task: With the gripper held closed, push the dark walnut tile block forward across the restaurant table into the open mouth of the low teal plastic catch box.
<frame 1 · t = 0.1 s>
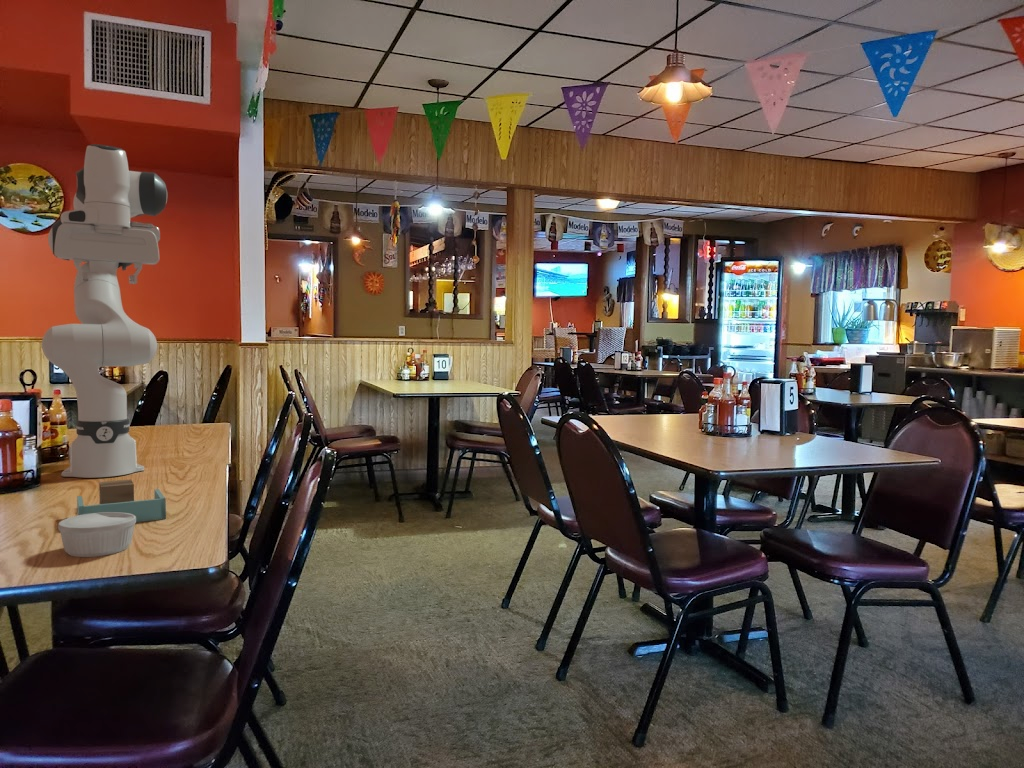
hand: (108, 282, 157), 48 cm above the table, fingers open, 8 cm apart
catch box: (121, 517, 140), on the table
walnut tile block: (116, 506, 150), on the table
ramekin: (98, 551, 119), on the table
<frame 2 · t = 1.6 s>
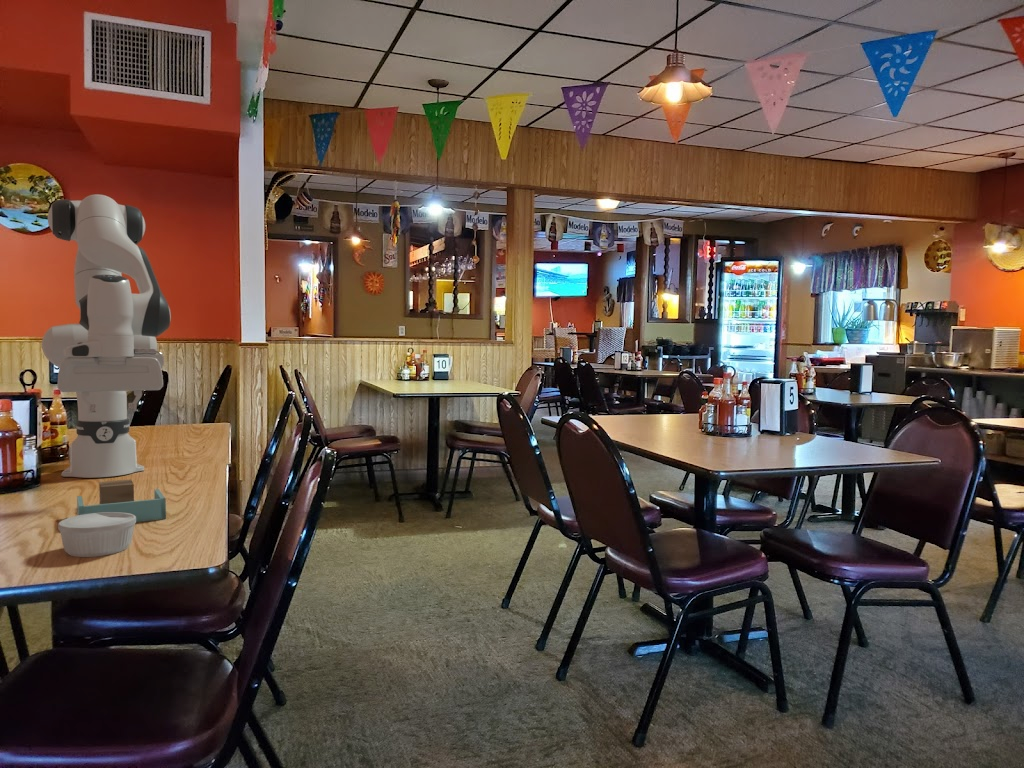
hand: (112, 411, 156), 19 cm above the table, fingers open, 6 cm apart
nothing on the table moved.
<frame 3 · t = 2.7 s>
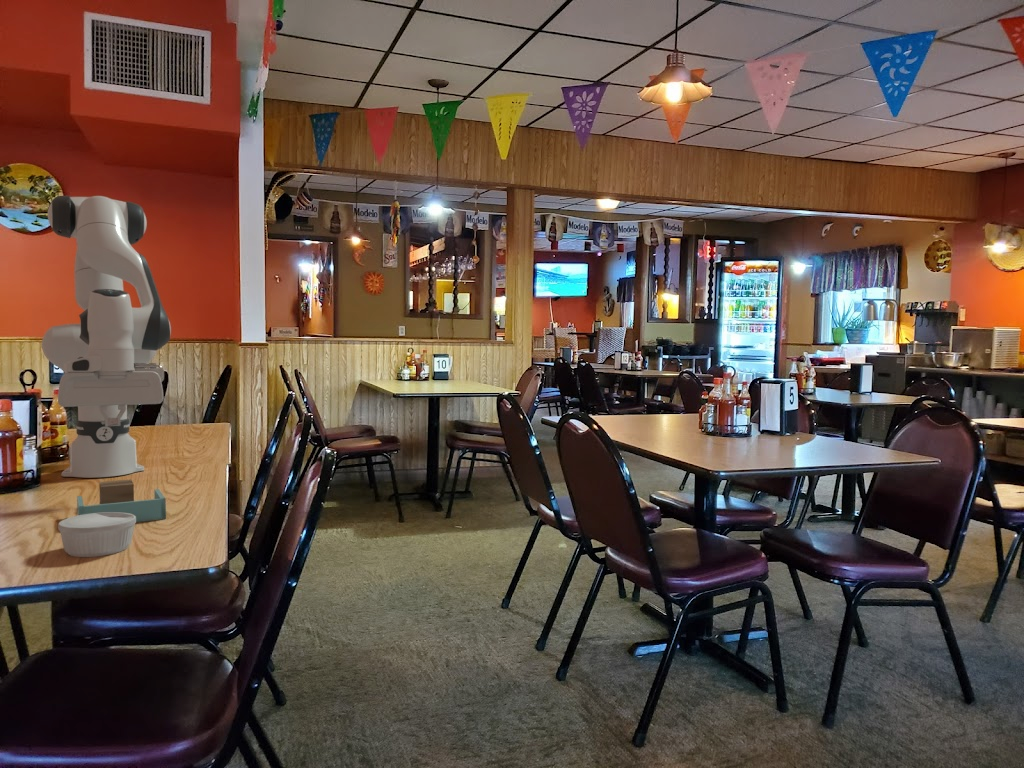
hand: (112, 426, 156), 16 cm above the table, fingers closed
nothing on the table moved.
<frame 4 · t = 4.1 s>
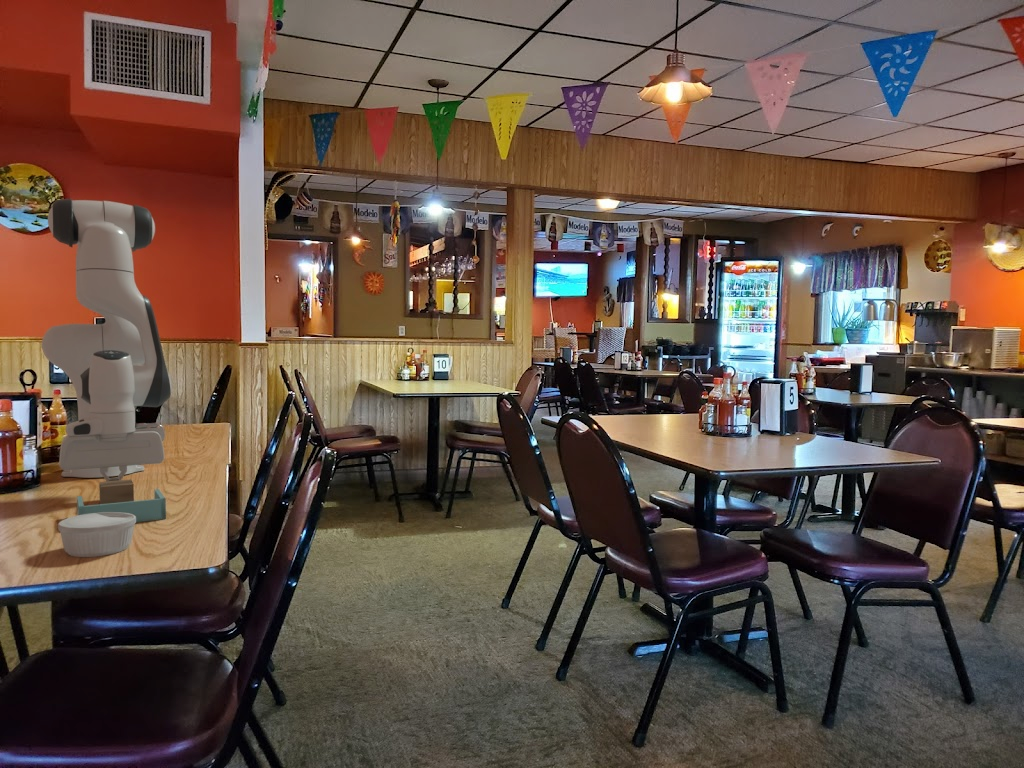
hand: (113, 486, 157), 3 cm above the table, fingers closed
nothing on the table moved.
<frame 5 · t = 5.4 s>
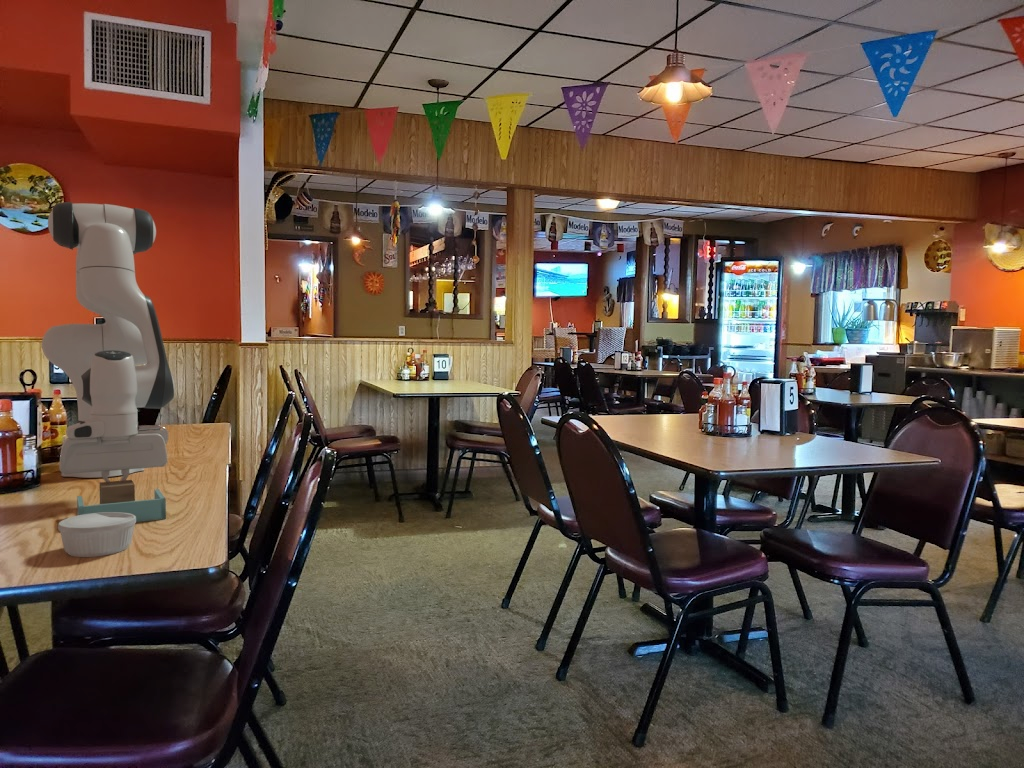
hand: (115, 490, 152), 3 cm above the table, fingers closed
walnut tile block: (117, 507, 149), on the table, touching gripper
everything else where it was.
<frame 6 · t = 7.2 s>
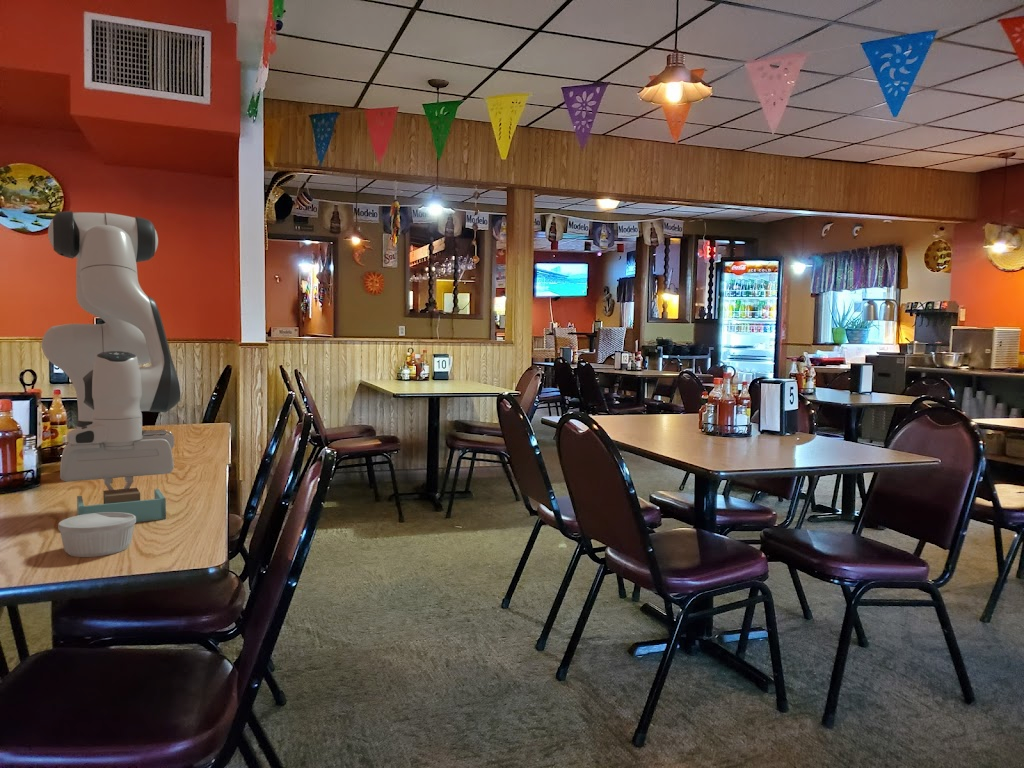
hand: (119, 499, 145), 3 cm above the table, fingers closed, pressing on walnut tile block
walnut tile block: (122, 516, 142), on the table, touching gripper
everything else where it was.
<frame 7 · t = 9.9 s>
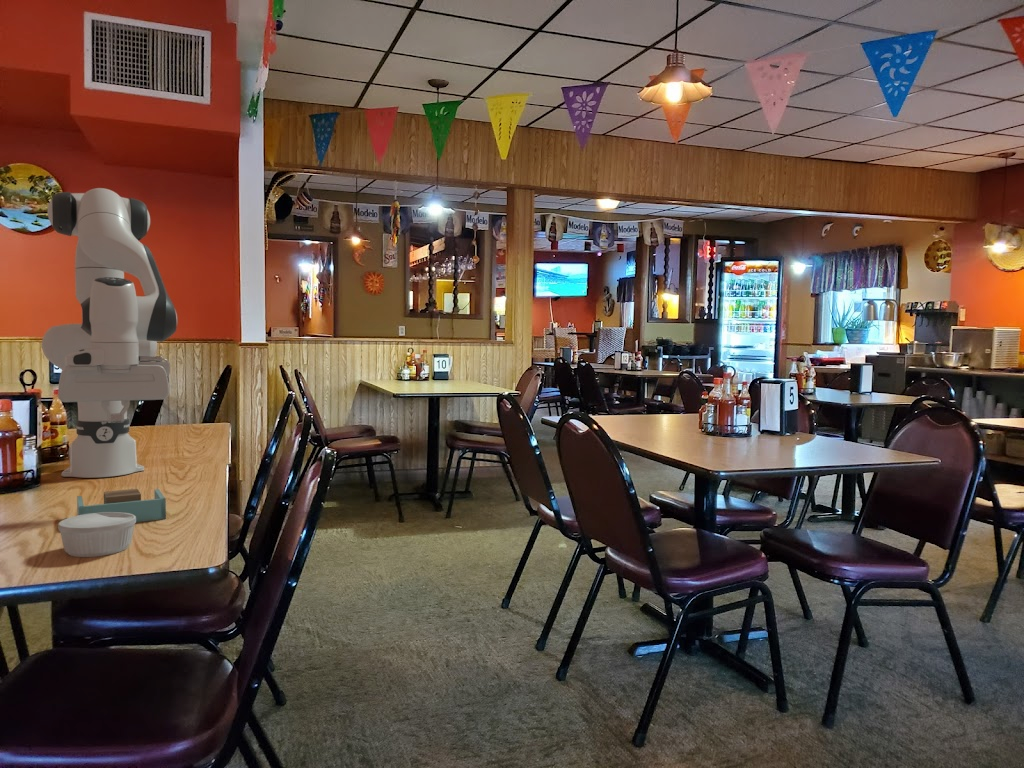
hand: (115, 422, 148), 18 cm above the table, fingers closed
walnut tile block: (122, 517, 141), on the table
everything else where it was.
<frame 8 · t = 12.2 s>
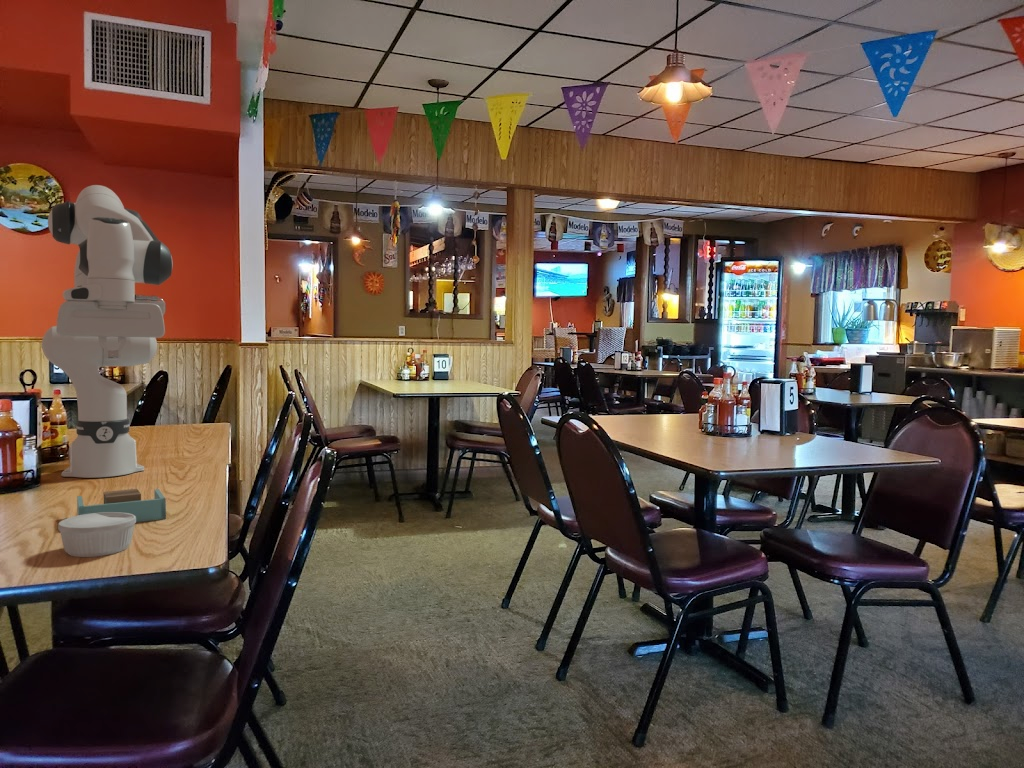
hand: (112, 358, 152), 31 cm above the table, fingers closed
nothing on the table moved.
at the end: walnut tile block inside the target area (0.6 cm from its centre), on the table; walnut tile block tilted 0° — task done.
